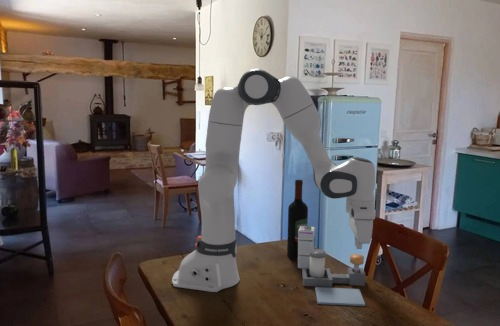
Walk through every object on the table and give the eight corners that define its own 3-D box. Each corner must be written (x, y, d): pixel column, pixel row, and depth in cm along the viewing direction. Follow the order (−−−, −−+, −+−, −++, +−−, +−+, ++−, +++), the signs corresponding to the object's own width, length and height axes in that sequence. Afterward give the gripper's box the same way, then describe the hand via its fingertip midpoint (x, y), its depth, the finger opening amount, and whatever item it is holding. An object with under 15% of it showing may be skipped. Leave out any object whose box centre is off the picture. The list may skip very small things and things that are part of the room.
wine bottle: (296, 250, 168) (298, 177, 164) (310, 256, 163) (313, 180, 158) (283, 254, 164) (284, 179, 159) (296, 260, 158) (299, 183, 153)
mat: (317, 303, 125) (317, 301, 125) (315, 288, 135) (315, 287, 134) (365, 306, 124) (365, 304, 124) (359, 290, 133) (359, 289, 133)
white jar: (309, 283, 138) (310, 254, 137) (308, 276, 144) (309, 248, 142) (325, 284, 138) (326, 255, 136) (323, 277, 143) (325, 249, 142)
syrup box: (313, 269, 150) (314, 230, 147) (297, 268, 151) (298, 229, 149) (314, 263, 155) (315, 226, 153) (298, 262, 156) (299, 225, 154)
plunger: (350, 277, 137) (351, 258, 136) (348, 272, 142) (349, 253, 141) (364, 278, 137) (365, 259, 136) (361, 272, 141) (362, 254, 140)
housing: (303, 285, 137) (303, 274, 136) (302, 274, 146) (302, 263, 145) (366, 288, 135) (366, 277, 134) (360, 276, 144) (361, 265, 144)
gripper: (345, 199, 146) (344, 237, 149) (355, 215, 126) (353, 258, 128) (363, 199, 146) (362, 237, 148) (376, 215, 126) (374, 259, 128)
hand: (358, 247), depth 138 cm, fingers closed
